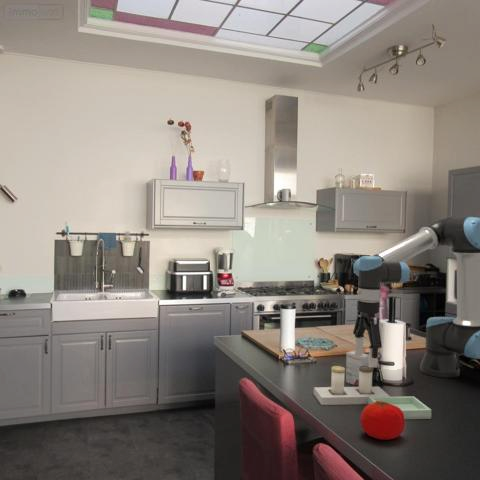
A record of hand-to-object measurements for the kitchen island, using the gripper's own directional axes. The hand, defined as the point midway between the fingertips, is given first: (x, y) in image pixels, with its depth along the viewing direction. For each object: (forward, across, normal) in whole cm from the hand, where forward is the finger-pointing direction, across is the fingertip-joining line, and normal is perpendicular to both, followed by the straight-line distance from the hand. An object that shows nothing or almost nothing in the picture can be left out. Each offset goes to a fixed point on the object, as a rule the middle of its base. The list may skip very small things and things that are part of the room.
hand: (365, 361), depth 173 cm
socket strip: (+13, 0, -4) cm, 14 cm away
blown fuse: (+13, 0, 0) cm, 13 cm away
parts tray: (+13, +12, +8) cm, 19 cm away
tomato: (+14, +29, -6) cm, 33 cm away
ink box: (+13, -15, +4) cm, 21 cm away
